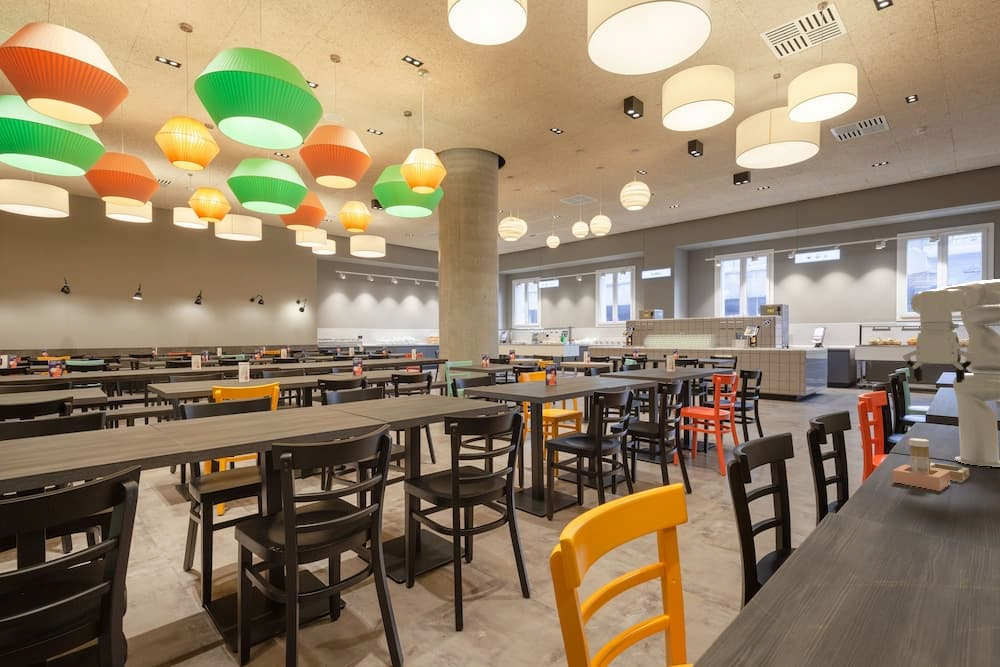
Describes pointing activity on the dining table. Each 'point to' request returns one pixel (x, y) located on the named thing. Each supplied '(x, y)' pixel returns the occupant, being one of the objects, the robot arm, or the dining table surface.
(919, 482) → the terracotta socket
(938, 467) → the wooden collar
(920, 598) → the dining table surface
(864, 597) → the dining table surface
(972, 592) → the dining table surface
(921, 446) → the sprinkles bottle
